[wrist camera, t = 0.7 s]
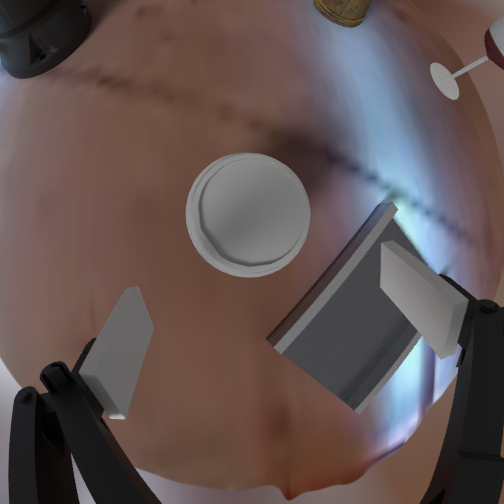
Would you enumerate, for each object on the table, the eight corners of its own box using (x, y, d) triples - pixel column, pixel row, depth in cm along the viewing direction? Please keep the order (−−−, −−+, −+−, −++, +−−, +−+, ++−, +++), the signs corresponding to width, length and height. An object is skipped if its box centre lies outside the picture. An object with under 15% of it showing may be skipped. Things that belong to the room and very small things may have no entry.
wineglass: (455, 71, 41) (528, 31, 19) (463, 109, 41) (547, 74, 19) (425, 53, 39) (500, 2, 17) (433, 91, 39) (522, 44, 17)
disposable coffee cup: (184, 186, 32) (179, 152, 20) (268, 178, 33) (307, 145, 22) (193, 272, 32) (193, 287, 20) (278, 261, 34) (323, 269, 22)
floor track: (347, 403, 36) (358, 414, 33) (265, 338, 34) (273, 347, 30) (436, 285, 39) (451, 287, 36) (377, 205, 36) (392, 202, 33)
